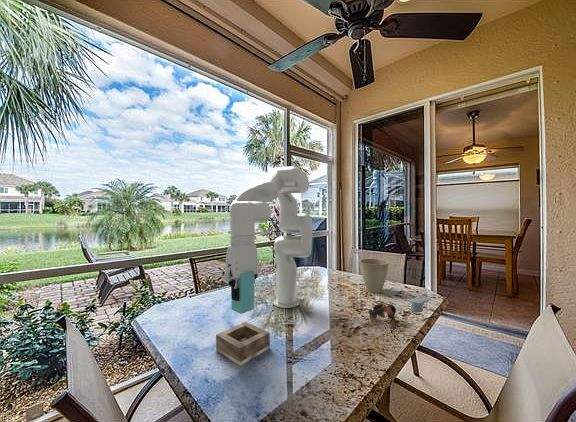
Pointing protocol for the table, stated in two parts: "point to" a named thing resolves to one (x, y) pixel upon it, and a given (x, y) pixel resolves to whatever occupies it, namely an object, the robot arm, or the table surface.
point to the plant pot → (374, 273)
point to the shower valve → (417, 304)
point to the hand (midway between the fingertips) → (242, 297)
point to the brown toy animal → (380, 312)
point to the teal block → (245, 294)
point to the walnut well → (242, 342)
